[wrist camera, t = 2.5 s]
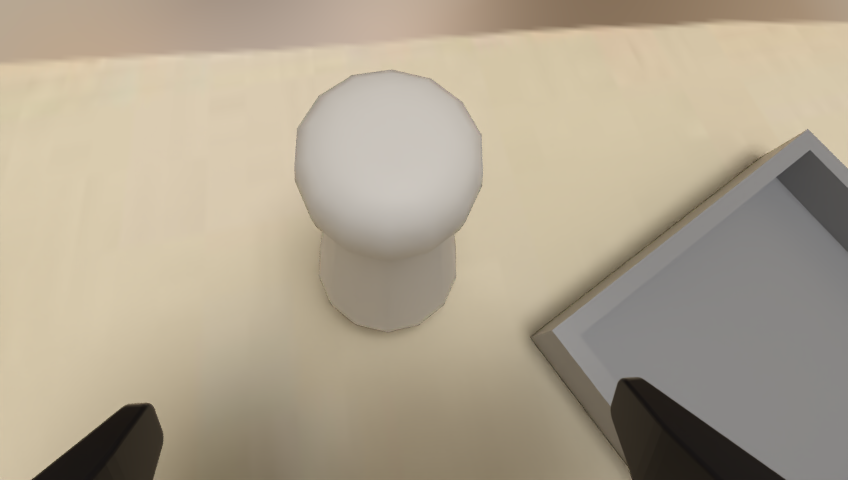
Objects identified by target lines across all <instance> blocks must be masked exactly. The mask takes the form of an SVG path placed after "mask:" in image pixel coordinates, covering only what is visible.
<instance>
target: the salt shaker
mask: <svg viewBox="0 0 848 480" xmlns="http://www.w3.org/2000/svg"><path fill="white" fill-rule="evenodd" d="M482 176H483V165H482V135H481V133H480V131H479V130H478V128H477V126H476V125H475V123H474V121H473V119H472V118H471V116H470V114H469V113H468V111H467V109H466V107H465V106H464V104H463V102H462V101H460V100H459V99H458V98H456V97H455V96H454V95H452V94H451V93H450V92H448V91H447V90H445V89H444V88H443V87H441V86H440V85H439V84H437V83H436V82H435V81H433V80H432V79H430V78H426V77H421V76H417V75H413V74H408V73H404V72H399V71H395V70H386V71H379V72H372V73H365V74H357V75H352V76H350V77H348V78H347V79H345V80H344V81H342V82H340V83H339V84H337V85H336V86H334V87H333V88H331V89H329V90H328V91H326V92H325V93H323V94H321V95H320V96H318V98H317V99H316V101H315V102H314V104H313V105H312V107H311V108H310V110H309V111H308V113H307V114H306V116H305V117H304V119H303V120H302V122H301V123H300V125H299V126H298V128H297V139H296V153H295V182H296V185H297V187H298V189H299V192H300V194H301V196H302V199H303V201H304V203H305V206H306V208H307V210H308V213H309V215H310V217H311V219H312V221H313V222H314V224H315V225H316V227H317V228H319V229H320V230H321V231H322V238H321V246H320V266H319V277H320V279H321V282H322V284H323V287H324V289H325V291H326V294H327V296H328V298H329V301H330V303H331V305H332V306H334V307H335V308H336V309H337V310H339V311H340V312H341V313H342V314H343V315H345V316H346V317H347V318H348V319H349V320H351V321H352V322H353V323H354V324H356V325H359V326H363V327H368V328H372V329H376V330H380V331H384V332H390V331H394V330H399V329H403V328H408V327H412V326H416V325H419V324H420V323H422V322H423V321H424V320H425V319H427V318H428V317H429V316H431V315H432V314H433V313H434V312H436V311H437V310H438V309H439V308H441V307H442V306H443V305H444V303H445V301H446V299H447V296H448V294H449V292H450V290H451V288H452V285H453V283H454V281H455V279H456V246H455V237H454V234H455V233H456V232H457V231H459V230H460V229H461V227H462V226H463V224H464V223H465V221H466V219H467V217H468V215H469V213H470V211H471V208H472V206H473V204H474V202H475V200H476V198H477V195H478V193H479V191H480V189H481V187H482Z"/></svg>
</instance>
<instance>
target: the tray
mask: <svg viewBox="0 0 848 480" xmlns="http://www.w3.org/2000/svg"><path fill="white" fill-rule="evenodd" d="M530 338H531V339H532V340H533V342H534V343H535V344H536V345H537V347H538V348H539V349H540V351H541V352H542V353H543V355H544V356H545V357H546V359H547V360H548V361H549V363H550V364H551V365H552V367H553V368H554V369H555V371H556V372H557V373H558V375H559V376H560V377H561V378H562V380H563V381H564V382H565V384H566V385H567V386H568V388H569V389H570V390H571V392H572V393H573V394H574V396H575V397H576V398H577V400H578V401H579V402H580V404H581V405H582V406H583V408H584V409H585V410H586V411H587V413H588V414H589V415H590V417H591V418H592V419H593V421H594V422H595V423H596V425H597V426H598V427H599V429H600V430H601V431H602V433H603V434H604V435H605V437H606V438H607V439H608V441H609V442H610V443H611V445H612V446H613V447H614V448H615V450H616V451H617V452H618V454H619V455H620V456H621V458H622V459H623V460H624V462H625V463H626V464H627V462H626V459H625V456H624V453H623V450H622V447H621V445H620V442H619V439H618V436H617V433H616V430H615V427H614V424H613V421H612V418H611V412H610V408H611V403H612V400H613V396H614V393H615V389H616V386H617V383H618V381H619V380H620V379H621V378H627V377H640V378H643V379H644V380H646V381H647V382H649V383H650V384H652V385H653V386H654V387H656V388H657V389H659V390H660V391H662V392H663V393H664V394H666V395H667V396H669V397H670V398H671V399H673V400H674V401H676V402H677V403H678V404H680V405H681V406H683V407H684V408H686V409H687V410H688V411H690V412H691V413H693V414H694V415H695V416H697V417H698V418H700V419H701V420H703V421H704V422H705V423H707V424H708V425H710V426H711V427H712V428H714V429H715V430H717V431H718V432H720V433H721V434H722V435H724V436H725V437H727V438H728V439H729V440H731V441H732V442H734V443H735V444H736V445H738V446H739V447H741V448H742V449H744V450H745V451H746V452H748V453H749V454H751V455H752V456H753V457H755V458H756V459H758V460H759V461H761V462H762V463H763V464H765V465H766V466H768V467H769V468H770V469H772V470H773V471H775V472H776V473H778V474H779V475H780V476H782V477H783V478H785V479H786V480H848V169H847V168H846V167H845V166H844V165H843V164H842V163H841V162H840V161H839V160H838V159H837V158H836V157H835V156H834V155H833V154H832V153H831V152H830V151H829V150H828V149H827V148H826V147H825V146H824V145H823V144H822V143H821V142H820V141H819V140H818V139H817V138H816V137H815V136H814V135H813V134H812V133H811V132H810V131H809V130H808V129H807V130H806V131H804V132H802V133H801V134H799V135H797V136H796V137H794V138H792V139H791V140H789V141H787V142H786V143H784V144H782V145H781V146H779V147H777V148H776V149H774V150H772V151H771V152H769V153H767V154H766V155H764V156H762V157H761V158H759V159H758V160H757V161H755V162H754V163H753V164H752V165H750V166H749V167H748V168H747V169H745V170H744V171H743V172H741V173H740V174H739V175H738V176H736V177H735V178H734V179H732V180H731V181H730V182H729V183H727V184H726V185H725V186H723V187H722V188H721V189H720V190H718V191H717V192H716V193H714V194H713V195H712V196H711V197H709V198H708V199H707V200H705V201H704V202H703V203H702V204H700V205H699V206H698V207H697V208H695V209H694V210H693V211H691V212H690V213H689V214H688V215H686V216H685V217H684V218H682V219H681V220H680V221H679V222H677V223H676V224H675V225H673V226H672V227H671V228H670V229H668V230H667V231H666V232H664V233H663V234H662V235H661V236H659V237H658V238H657V239H655V240H654V241H653V242H652V243H650V244H649V245H648V246H646V247H645V248H644V249H643V250H641V251H640V252H639V253H638V254H636V255H635V256H634V257H632V258H631V259H630V260H629V261H627V262H626V263H625V264H623V265H622V266H621V267H620V268H618V269H617V270H616V271H614V272H613V273H612V274H611V275H609V276H608V277H607V278H605V279H604V280H603V281H602V282H600V283H599V284H598V285H596V286H595V287H594V288H593V289H591V290H590V291H589V292H588V293H586V294H585V295H584V296H582V297H581V298H580V299H579V300H577V301H576V302H575V303H573V304H572V305H571V306H570V307H568V308H567V309H566V310H564V311H563V312H562V313H561V314H559V315H558V316H557V317H555V318H554V319H553V320H552V321H550V322H549V323H548V324H546V325H545V326H544V327H543V328H541V329H540V330H539V331H537V332H536V333H535V334H534V335H532V336H531V337H530ZM627 466H628V465H627Z"/></svg>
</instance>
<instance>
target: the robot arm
mask: <svg viewBox="0 0 848 480" xmlns="http://www.w3.org/2000/svg"><path fill="white" fill-rule="evenodd" d="M610 412H611V418H612V421H613V424H614V427H615V430H616V433H617V436H618V439H619V442H620V445H621V447H622V450H623V453H624V456H625V459H626V462H627V465H628V468H629V471H630V474H631V477H632V480H786V479H785V478H783V477H782V476H780V475H779V474H778V473H776V472H775V471H773V470H772V469H770V468H769V467H768V466H766V465H765V464H763V463H762V462H761V461H759V460H758V459H756V458H755V457H753V456H752V455H751V454H749V453H748V452H746V451H745V450H744V449H742V448H741V447H739V446H738V445H736V444H735V443H734V442H732V441H731V440H729V439H728V438H727V437H725V436H724V435H722V434H721V433H720V432H718V431H717V430H715V429H714V428H712V427H711V426H710V425H708V424H707V423H705V422H704V421H703V420H701V419H700V418H698V417H697V416H695V415H694V414H693V413H691V412H690V411H688V410H687V409H686V408H684V407H683V406H681V405H680V404H678V403H677V402H676V401H674V400H673V399H671V398H670V397H669V396H667V395H666V394H664V393H663V392H662V391H660V390H659V389H657V388H656V387H654V386H653V385H652V384H650V383H649V382H647V381H646V380H644V379H643V378H640V377H627V378H621V379H620V380H619V381H618V383H617V386H616V389H615V393H614V396H613V400H612V403H611V408H610ZM162 445H163V431H162V428H161V425H160V423H159V420H158V417H157V414H156V412H155V409H154V407H153V405H151V404H150V403H135V404H127V405H125V406H123V407H122V408H121V409H119V410H118V411H117V412H116V413H114V414H113V415H112V416H111V417H109V418H108V419H107V420H106V421H104V422H103V423H102V424H101V425H99V426H98V427H97V428H96V429H94V430H93V431H92V432H91V433H89V434H88V435H87V436H86V437H84V438H83V439H82V440H81V441H79V442H78V443H77V444H76V445H74V446H73V447H72V448H71V449H69V450H68V451H67V452H66V453H64V454H63V455H62V456H61V457H59V458H58V459H57V460H56V461H54V462H53V463H52V464H51V465H49V466H48V467H47V468H46V469H44V470H43V471H42V472H41V473H39V474H38V475H37V476H36V477H34V478H33V479H32V480H153V477H154V474H155V470H156V467H157V463H158V460H159V456H160V453H161V449H162Z"/></svg>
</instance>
